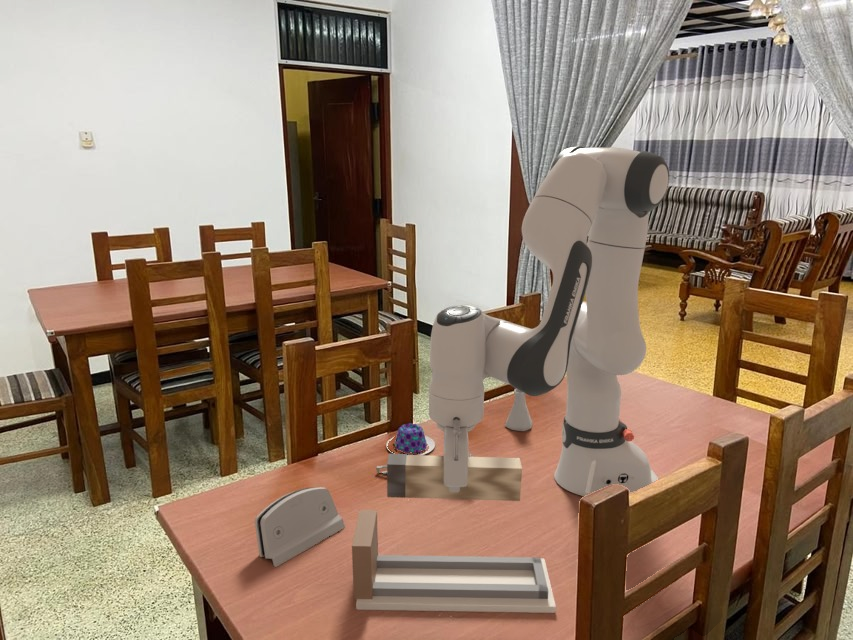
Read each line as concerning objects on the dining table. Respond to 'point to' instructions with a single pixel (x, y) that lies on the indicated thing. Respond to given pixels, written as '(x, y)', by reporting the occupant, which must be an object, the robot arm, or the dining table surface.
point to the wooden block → (427, 478)
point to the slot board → (444, 579)
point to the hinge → (296, 523)
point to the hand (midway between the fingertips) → (453, 482)
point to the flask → (519, 414)
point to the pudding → (412, 439)
